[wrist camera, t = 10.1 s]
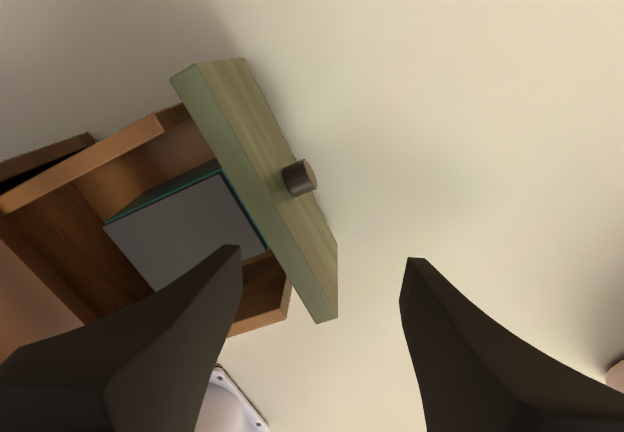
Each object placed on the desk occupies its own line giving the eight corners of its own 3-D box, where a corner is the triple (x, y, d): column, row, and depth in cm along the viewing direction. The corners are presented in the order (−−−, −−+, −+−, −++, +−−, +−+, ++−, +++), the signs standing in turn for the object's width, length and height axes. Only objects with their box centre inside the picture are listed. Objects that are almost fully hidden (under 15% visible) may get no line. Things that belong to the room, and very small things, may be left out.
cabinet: (87, 131, 21) (-58, 181, 13) (207, 292, 26) (153, 395, 18) (-62, 215, 24) (-244, 292, 17) (69, 342, 30) (-24, 445, 22)
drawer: (263, 46, 17) (224, 45, 11) (354, 238, 22) (361, 311, 16) (57, 159, 21) (-58, 205, 15) (173, 303, 26) (123, 383, 20)
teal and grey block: (244, 144, 18) (219, 170, 15) (282, 213, 20) (269, 253, 16) (144, 191, 20) (98, 226, 16) (187, 251, 22) (155, 295, 18)
